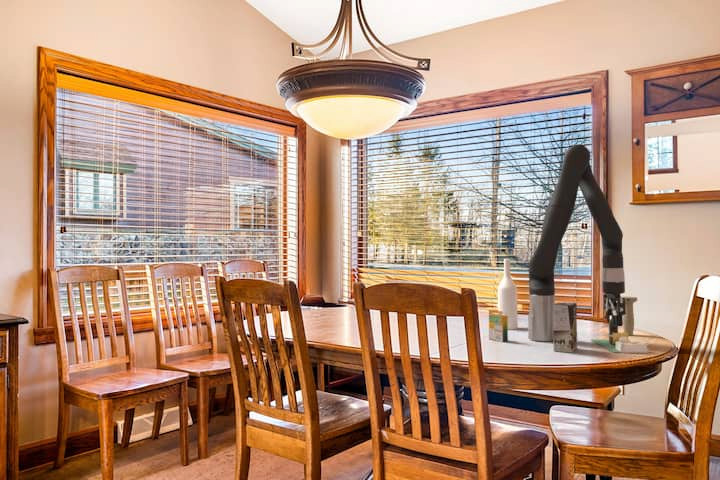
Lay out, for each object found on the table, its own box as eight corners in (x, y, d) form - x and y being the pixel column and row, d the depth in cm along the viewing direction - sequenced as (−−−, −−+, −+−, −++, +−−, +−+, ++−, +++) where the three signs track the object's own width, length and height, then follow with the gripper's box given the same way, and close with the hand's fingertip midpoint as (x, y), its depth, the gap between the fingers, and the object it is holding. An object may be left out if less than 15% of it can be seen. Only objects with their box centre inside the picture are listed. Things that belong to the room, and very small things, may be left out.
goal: (620, 352, 182) (620, 344, 182) (615, 350, 186) (615, 341, 186) (647, 353, 181) (647, 344, 181) (641, 350, 186) (641, 341, 186)
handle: (637, 336, 211) (637, 298, 211) (619, 335, 214) (619, 297, 214) (637, 334, 215) (637, 296, 215) (619, 333, 218) (619, 296, 218)
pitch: (614, 352, 182) (614, 351, 182) (591, 340, 204) (591, 339, 204) (647, 353, 181) (647, 351, 181) (620, 340, 203) (620, 339, 203)
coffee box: (572, 353, 183) (572, 305, 183) (553, 351, 186) (552, 304, 186) (577, 348, 190) (577, 302, 190) (558, 346, 194) (558, 301, 194)
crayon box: (508, 341, 204) (508, 310, 204) (502, 342, 203) (502, 311, 203) (494, 338, 211) (493, 308, 211) (488, 339, 209) (488, 309, 209)
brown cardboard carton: (611, 344, 194) (611, 337, 194) (609, 343, 196) (608, 336, 196) (627, 344, 194) (627, 337, 194) (624, 343, 196) (624, 336, 196)
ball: (620, 347, 188) (620, 337, 188) (616, 345, 192) (616, 335, 192) (631, 347, 188) (631, 337, 188) (627, 345, 192) (627, 335, 192)
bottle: (519, 329, 230) (519, 259, 230) (500, 329, 230) (500, 259, 230) (514, 326, 238) (513, 258, 238) (496, 326, 238) (495, 258, 238)
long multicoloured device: (605, 340, 201) (604, 314, 201) (619, 340, 200) (618, 314, 200) (613, 344, 193) (613, 318, 193) (628, 344, 192) (627, 318, 192)
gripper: (595, 279, 206) (597, 321, 206) (610, 281, 192) (611, 327, 192) (616, 278, 206) (617, 321, 206) (632, 281, 192) (633, 327, 192)
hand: (614, 324), depth 199 cm, fingers open, 8 cm apart
